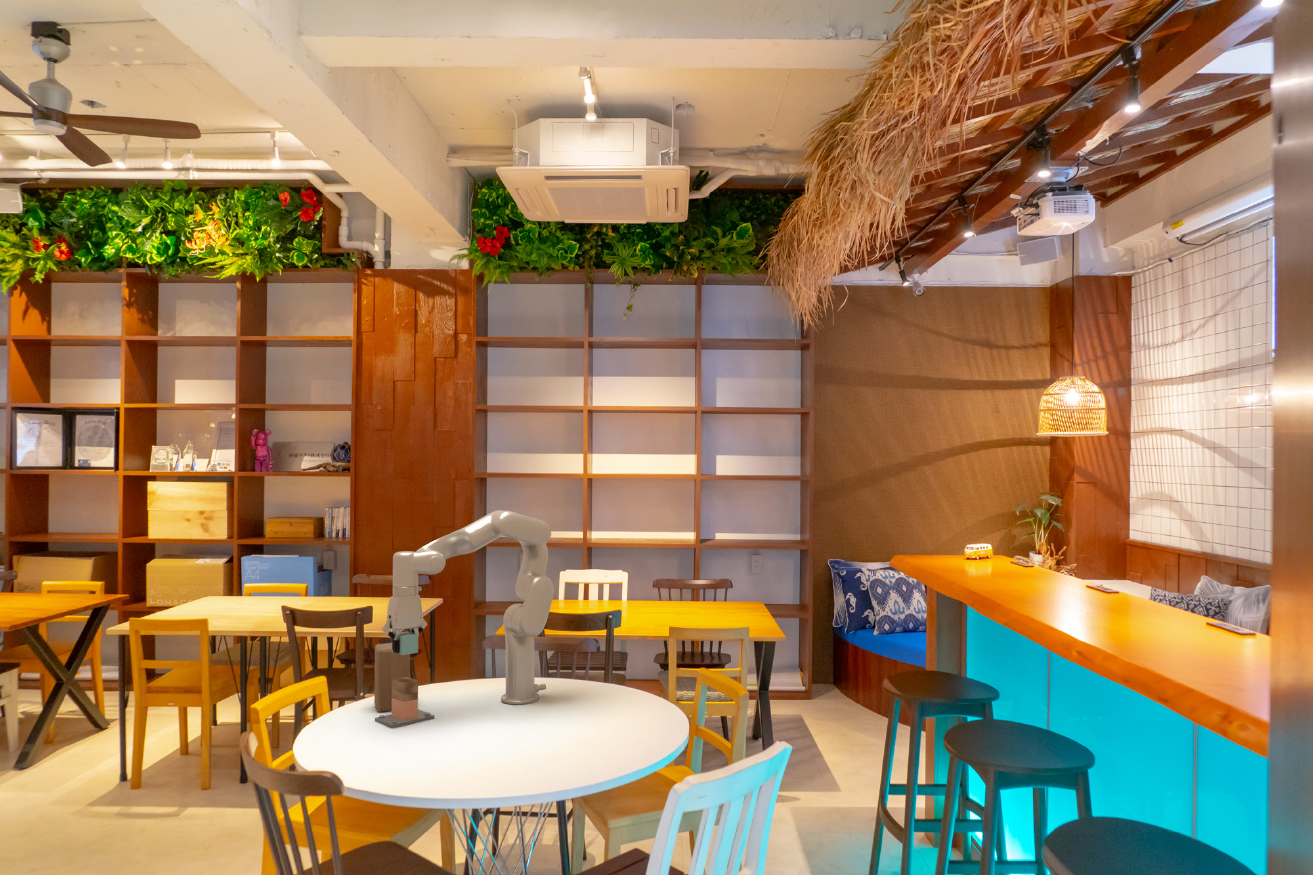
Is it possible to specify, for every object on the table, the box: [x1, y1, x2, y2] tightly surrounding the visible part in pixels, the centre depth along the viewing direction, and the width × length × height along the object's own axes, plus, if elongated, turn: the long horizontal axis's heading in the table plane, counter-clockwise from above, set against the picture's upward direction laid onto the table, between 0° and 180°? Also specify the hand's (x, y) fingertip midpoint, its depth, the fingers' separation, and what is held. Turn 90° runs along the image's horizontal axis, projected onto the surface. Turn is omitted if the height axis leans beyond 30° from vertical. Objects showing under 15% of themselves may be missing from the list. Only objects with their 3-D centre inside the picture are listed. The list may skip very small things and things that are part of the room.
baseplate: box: [374, 698, 435, 729], centre depth 254 cm, size 14×11×6 cm
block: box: [373, 642, 411, 713], centre depth 269 cm, size 10×10×20 cm
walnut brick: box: [392, 677, 419, 702], centre depth 254 cm, size 5×7×6 cm
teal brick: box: [392, 631, 419, 655], centre depth 255 cm, size 5×7×6 cm
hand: (404, 650), depth 255 cm, fingers closed on teal brick, 4 cm apart
